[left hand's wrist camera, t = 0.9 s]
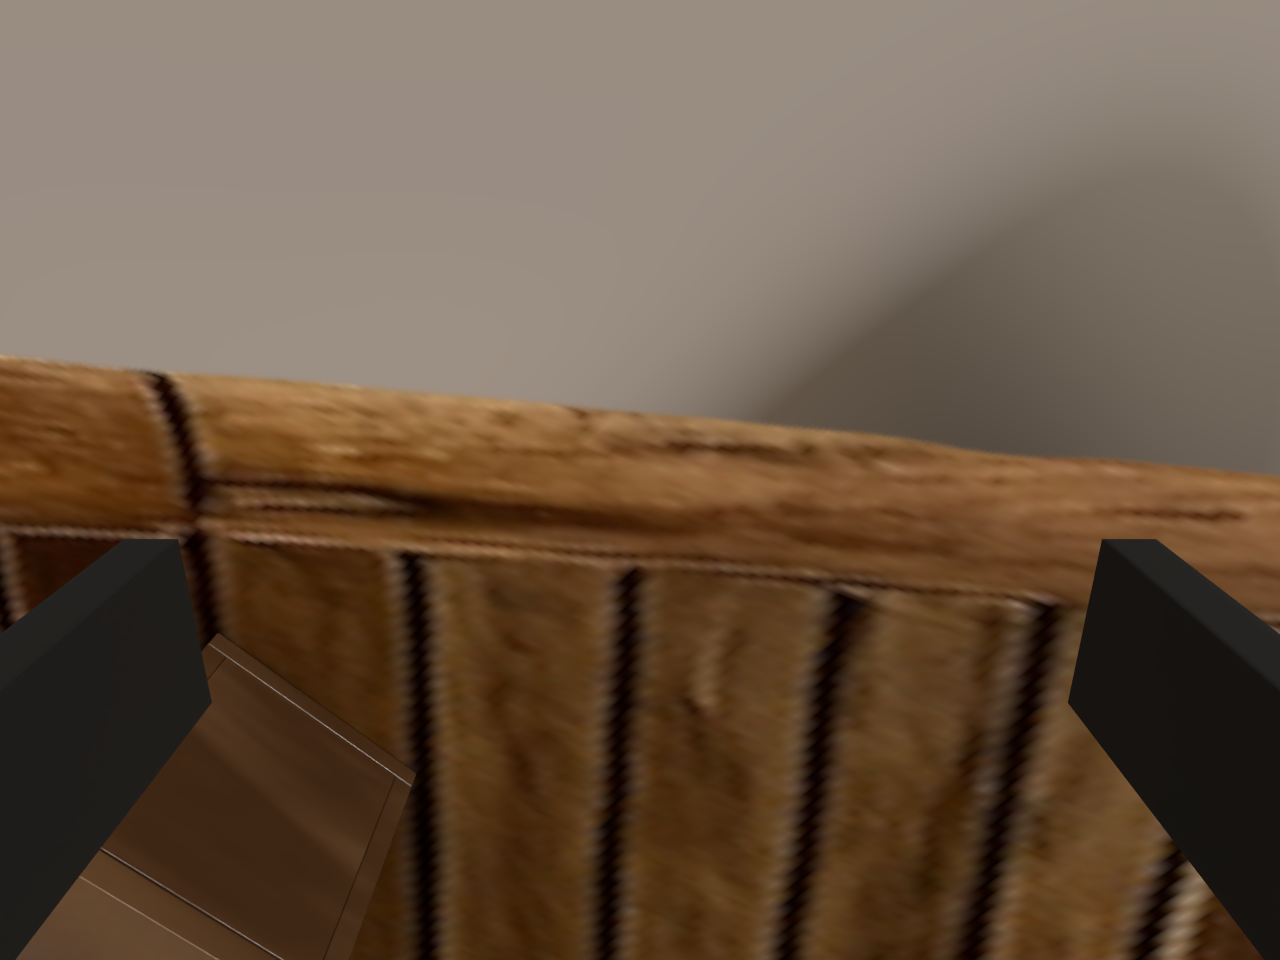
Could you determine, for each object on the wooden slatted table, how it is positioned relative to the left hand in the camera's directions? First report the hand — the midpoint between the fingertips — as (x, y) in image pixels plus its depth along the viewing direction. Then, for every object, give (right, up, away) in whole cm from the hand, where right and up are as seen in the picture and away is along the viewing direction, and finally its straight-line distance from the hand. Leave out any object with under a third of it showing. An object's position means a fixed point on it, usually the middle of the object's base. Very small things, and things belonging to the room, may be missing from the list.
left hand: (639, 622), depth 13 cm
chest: (-18, -12, +26) cm, 34 cm away
